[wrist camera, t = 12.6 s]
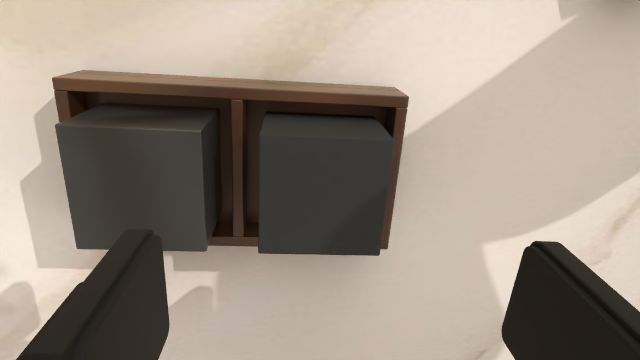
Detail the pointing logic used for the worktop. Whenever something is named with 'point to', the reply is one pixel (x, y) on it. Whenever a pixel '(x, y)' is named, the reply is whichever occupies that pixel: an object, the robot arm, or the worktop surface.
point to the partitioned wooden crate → (187, 151)
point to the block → (322, 183)
